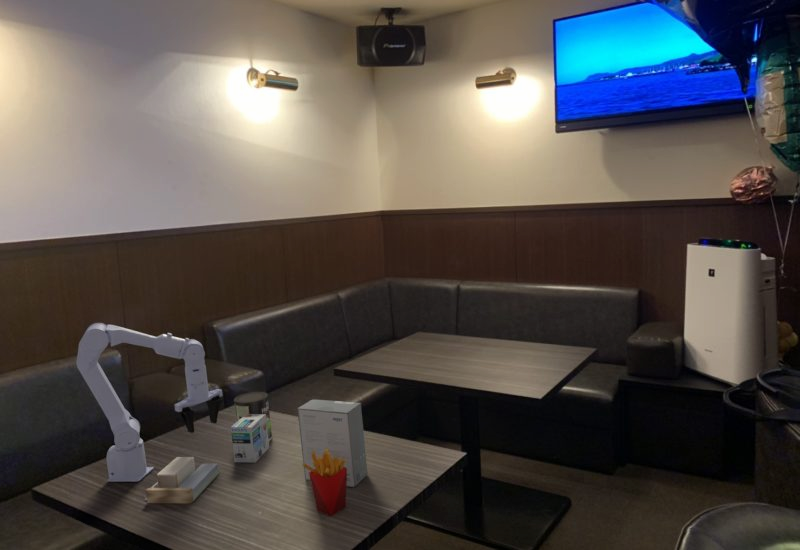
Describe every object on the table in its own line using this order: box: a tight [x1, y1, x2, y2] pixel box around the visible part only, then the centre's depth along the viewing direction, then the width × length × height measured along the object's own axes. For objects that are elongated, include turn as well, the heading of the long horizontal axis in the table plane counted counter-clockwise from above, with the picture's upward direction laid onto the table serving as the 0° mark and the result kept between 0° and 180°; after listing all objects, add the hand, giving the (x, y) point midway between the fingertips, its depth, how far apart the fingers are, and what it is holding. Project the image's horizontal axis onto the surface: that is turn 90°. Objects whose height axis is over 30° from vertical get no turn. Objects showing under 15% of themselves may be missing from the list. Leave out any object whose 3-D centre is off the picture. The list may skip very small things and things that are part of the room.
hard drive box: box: [297, 399, 368, 488], centre depth 157 cm, size 16×8×20 cm, turn 65°
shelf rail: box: [145, 487, 195, 504], centre depth 151 cm, size 12×1×4 cm, turn 82°
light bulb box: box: [230, 414, 270, 464], centre depth 175 cm, size 11×7×11 cm, turn 169°
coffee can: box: [233, 391, 273, 442], centre depth 186 cm, size 10×10×14 cm
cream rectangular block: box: [156, 456, 197, 488], centre depth 159 cm, size 5×10×6 cm, turn 171°
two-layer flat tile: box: [178, 463, 220, 501], centre depth 158 cm, size 5×15×3 cm, turn 172°
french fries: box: [301, 449, 348, 517], centre depth 140 cm, size 9×8×15 cm
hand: (202, 427), depth 174 cm, fingers open, 7 cm apart
